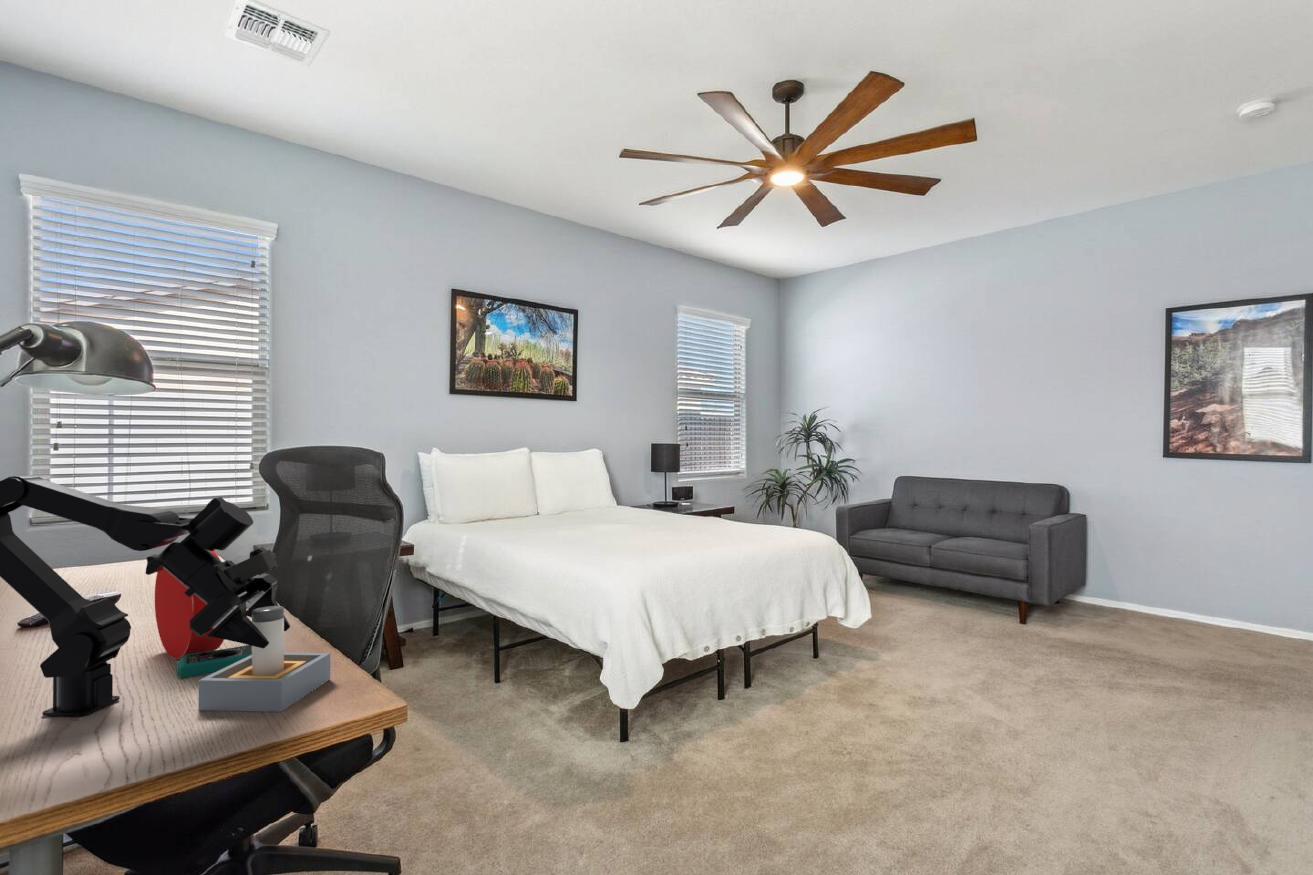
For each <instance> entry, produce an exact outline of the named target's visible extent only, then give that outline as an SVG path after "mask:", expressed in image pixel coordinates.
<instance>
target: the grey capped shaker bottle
mask: <svg viewBox="0 0 1313 875" xmlns="http://www.w3.org/2000/svg"><path fill="white" fill-rule="evenodd" d="M284 616H285V607H284V606H281V605H278V606H268V607H262V608H257V609H254V610H253V611H252V618H251V622H252V623H253V624H254V625H255V626H256V627H257V628H258V629H259V631H260V632H261V633H262V634H263V635H264V636H265V638H266V639H267V640H268V641H269V644H268V645H267V646H266V647H265V648H259V647H255V646H252V676H275V675H277V674H278V673H280V672H282V671H284V653H285V631H284Z"/></svg>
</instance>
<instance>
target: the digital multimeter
mask: <svg viewBox="0 0 1313 875" xmlns="http://www.w3.org/2000/svg"><path fill="white" fill-rule="evenodd" d="M250 655H252V646H251V645H247V644H245V645H241V646H234V647H229V648H223V649H222V648H221V649H216V650H214V651H207V652H200V653H193V654H186V655H184V656H183V657H182V658H180V659H178V661H177V662H176V674H177V676H178V677H179V678H180V679H185V678H191V677H197V676H202V675H210V674H213V673H215V672H217V671H219V670H221V669H223V668H225V667H227V666H229V665H231V664H233V663H236V662H238V661H240V660H242V659H244V658H246V657H248V656H250Z"/></svg>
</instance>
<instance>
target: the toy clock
mask: <svg viewBox="0 0 1313 875" xmlns="http://www.w3.org/2000/svg"><path fill="white" fill-rule="evenodd" d="M210 552H211V553H212V554H214V555H215V556H216V557H217V558H218V559H219V560H220V561H222V559H220V556H218V554H217V552H216V551H215V550H214V551H210ZM187 590H188V588H187V587H186V586H184V585H183V584H182V583H181V582H180V581H179V580H177V579H176V578H175V577H174V576H173V575H171V574H170V573H169V572H168V571H167V570H166V569H162V570H161V571H158V572H156V577H155V585H154V612H155V613H154V614H155V621H156V626H157V632H158V635H159V638H160V641H161V644H162V646H163V648H164V650H165V652H166V654H167V655H168V656H169V657H171V659H175V660H180V659H181V658H182V657H183V656H184V655H186V654H193V653H200V652H207V651H214V650H219V648H220V647H221V646H222V645H223V643H224V641H225V639H220V638H215V637H210V638H209V637H207V635H208V634H209V633H210V632H211V631H212V630H213V628H212V627H211V630H210V631H209V632H208V633H206V634H205V635H203V636H201V637H199V636H198V635H196V634H195V633H194V632H193V631H192V630H190V620H191V619H192V618H193V617H194V616H195V615H196V614H197V613H198V612H199V611H200V610H202V609H203V608H204V607H205V606H206V605H207V604H206V603H204V602H203V601H202V600H201V599H200V598H199V597H197V596H196V595H193V596H191V597H188V596H187V595H186V594H185V592H186V591H187Z"/></svg>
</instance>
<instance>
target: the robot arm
mask: <svg viewBox="0 0 1313 875" xmlns="http://www.w3.org/2000/svg"><path fill="white" fill-rule="evenodd" d="M24 506H25V507H28V508H32V509H35V510H37V511H41V512H42V513H43V512H44V513H48V514H50V515H53V516H57V517H60V518H63V519H66V520H69V521H71V522H76V523H79V524H82V525H86V526H89V527H93V528H96V529H98V530H99V531H102V532H103V533H105V534H106V535H107V537H109V538H110V539H111V540H113V541H115V542H116V543H118V544H120V545H123V546H124V547H127V548H128V549H130V550H133V551H138V552H142V551H143V552H145V551H149V550H153V549H156V548H160V547H163V546H166V547H165V548H164V549H163V550H162V551H161V552H160V553H158V554H153V555H152V554H151V555H149V556H147V557H146V562H147V563H146V568H145V575H148V576H149V575H152V574H155V573H157V572H158V571H161V570H162V569H166V570H167V571H168V572H169V573H170V574H171V575H173V576H174V577H175V578H176V579H177V580H179V581H180V582H181V583H182V584H183V585H184V586H186V587H187V588H188V590H187V591H186V592H185V594H186V595H187V596H188V597H191V596H193V595H196V596H197V597H199V598H200V599H201V600H202V601H203V602H204V603H206V604H207V605H206V606H205V607H204V608H203V609H202V610H200V611H199V612H198V613H197V614H196V615H195V616H194V617H193V618H192V619H191V620H190V630H192V631H193V632H194V633H195V634H196V635H198V636H199V637H201V636H203V635H205V634H206V633H208V632H209V631H210V630H211V627H212V628H213V630H212V631H211V632H210V633H209V634H208V635H207V637H209V638H210V637H215V638H220V639H224V641H225V640H226V641H231V642H235V643H239V644H244V645H251V646H255V647H259V648H265V647H266V646H267V645H268V644H269V641H268V640H267V639H266V638H265V636H264V635H263V634H262V633H261V632H260V631H259V629H258V628H257V627H256V626H255V625H254V624H253V623H252V620H251V619H252V611H253V610H254V609H257V608H262V607H268V606H279V604H278V601H277V600H276V594H277V593H276V591H277V589H278V585H277V583H278V579H276V578H275V577H274V576H273V575H272V574H270V573H267V572H270V571H272V570H273V569H276V568H278V564H277V562H276V560H275V559H276V557H277V554H276V553H275V552H272V550H271V549H267V548H265V547H264V546H261V547H258V548H257V549H254V550H251V551H250V552H249V558H247V559H245V560H243V561H240V562H238V563H237V564H236V563H234V562H233V561H232V560H228V559H227V560H224V561H222V560H221V559H220V560H221V561H220V560H219V559H218V558H217V557H216V556H215V555H214V554H212V553H211V552H210V551H214V552H215V551H216V550H218V551H225V550H227V548H229V547H230V546H231V545H232V544H233V543H234V542H235V541H237V539H238V538H240V537H241V536H242V535H243V534H244V533H245V532H246V531H247V530H248V529H249V528H250V527H252V525H253V524H254V520H253V518H252V516H251V515H250V514H249V513H248V512H247V510H245V509H244V508H242V507H239V506H237V505H236V504H234V503H232V502H230V501H228V500H225V499H224V498H223V497H222V496H219V497H213V498H212V499H211V500H210V501H209V502H208V503H207V504H206V506H205V507H204V508H203V509H201V511H199V513H198V514H196V515H195V516H194V517H182V516H179V515H178V514H177V513H175V511H171V510H169V509H165V508H164V509H163V508H156V507H150V506H143V505H142V506H139V505H131V504H130V505H128V504H121V503H118V502H115V501H111V500H109V499H105V498H103V497H99V496H96V495H93V494H89V493H87V492H84V491H80V490H77V489H74V488H71V487H68V486H65V485H62V484H59V483H56V482H52V481H49V480H47V479H44V478H42V477H40V476H39V475H36V474H35V475H33V474H29V475H14V476H8V477H5V478H4V479H2V480H0V578H1V579H2V580H3V581H5V583H7V585H9V586H10V587H11V588H12V589H13V590H14V591H15V592H16V593H17V594H18V595H20V597H22V598H23V600H25V601H26V602H27V603H29V605H31V607H32V608H34V609H35V610H36V611H37V613H39V614H40V615H41V616H42V617H43V618H45V620H47V621H48V625H49V628H50V629H49V630H50V635H51V639H52V641H53V643H54V644H55V646H56V647H57V648H56V649H55V650H54V651H53V652H52V653H51V654H50V655H49V656H47V658H45V659H44V660H43V661H42V662H41V663H40V664H39V667H40V670H41V672H42V674H43V677H44V678H45V679H51V678H52V707H51V708H47V709H46V710H43V711H42V713H41V714H42V716H56V717H57V716H58V717H60V716H61V717H81V716H82V717H83V716H85V715H88V714H90V713H92V712H94V711H97V710H99V709H101V708H103V707H105V706H108V705H110V704H112V703H114V702H117V701H119V700H120V699H121V698H120V696H119V695H113V683H114V682H113V681H114V680H113V678H114V677H113V674H112V673H111V672H112V670H111V669H112V664H111V663H108V661H110V660H112V659H115V658H117V657H118V655H119V653H120V650H121V647H123V646H124V645H125V644H126V643H127V642H128V641H129V638H130V636H131V629H132V626H131V623H130V621H129V620H128V619H127V618H126V617H128V616H129V614H128V613H127V612H123V611H122V610H121V609H119V608H118V607H117V606H116V604H115V602H114V601H113V600H111V599H110V598H109V597H105V598H103V599H101V600H97V601H96V602H95V601H92V600H89V599H86V598H85V597H83V596H82V595H81V594H80V593H79V592H78V591H77V590H75V589H74V588H73V587H72V585H70V584H69V583H68V582H67V581H66V580H65V579H64V578H63V577H62V576H60V574H59V573H57V572H56V571H55V569H53V568H52V567H51V566H50V565H48V563H47V562H45V561H44V560H43V559H42V558H41V557H40V556H39V555H38V554H37V552H35V551H33V550H32V548H31V547H29V546H28V545H27V544H26V543H25V542H24V541H23V540H22V539H21V538H19V537H18V535H17V534H16V533H15V532H14V531H13V525H12V519H11V515H10V514H9V513H13V512H16V511H17V510H19V509H21V508H23V507H24ZM185 535H186V537H185V538H184V539H182V540H181V541H180V542H179V541H178V542H177V539H178V538H179V537H180V536H185ZM250 618H251V619H250ZM290 628H291V625H290V622H289V621H288V619H287V617H286V616H285V615H284V632H286V631H288V630H289V629H290Z"/></svg>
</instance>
